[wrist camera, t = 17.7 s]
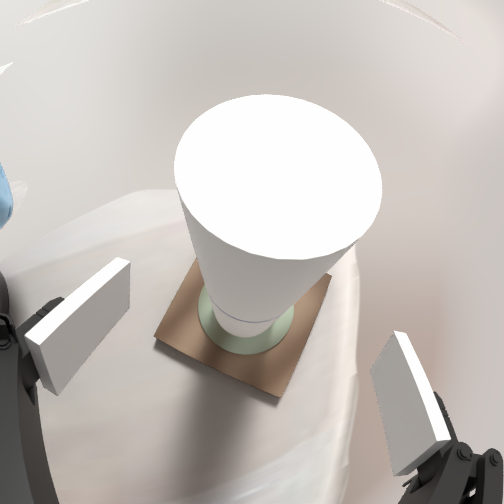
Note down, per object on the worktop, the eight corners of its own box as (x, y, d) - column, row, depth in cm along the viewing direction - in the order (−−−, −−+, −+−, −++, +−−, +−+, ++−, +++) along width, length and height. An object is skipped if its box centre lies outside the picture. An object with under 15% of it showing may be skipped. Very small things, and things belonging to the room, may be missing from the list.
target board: (156, 337, 32) (152, 336, 30) (216, 228, 38) (216, 222, 36) (278, 396, 30) (281, 398, 29) (328, 279, 36) (332, 275, 34)
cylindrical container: (201, 301, 32) (137, 146, 9) (249, 264, 34) (286, 78, 11) (240, 350, 30) (273, 313, 7) (289, 310, 32) (413, 184, 9)
